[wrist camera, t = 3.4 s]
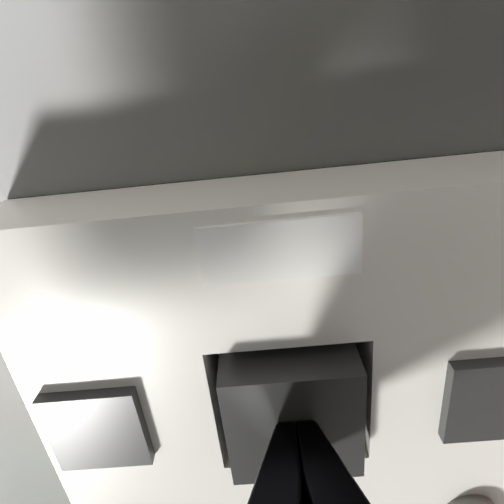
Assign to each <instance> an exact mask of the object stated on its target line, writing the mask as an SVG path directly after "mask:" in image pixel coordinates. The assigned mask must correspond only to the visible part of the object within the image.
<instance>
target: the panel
mask: <svg viewBox="0 0 504 504" xmlns="http://www.w3.org/2000/svg"><path fill="white" fill-rule="evenodd" d="M354 342H355V344H356V347H357V349H358V352H359V355H360V358H361V360H362V363H363V366H364V369H365V371H366V374H367V399H366V432H365V465H364V476H361V477H353V478H354V479H355V481H356V482H357V484H358V485H359V487H360V488H361V490H362V491H363V493H364V494H365V496H366V497H367V499H368V500H369V502H370V503H371V504H504V150H503V151H493V152H483V153H473V154H463V155H453V156H443V157H432V158H422V159H412V160H402V161H392V162H382V163H372V164H362V165H352V166H342V167H331V168H321V169H311V170H301V171H291V172H281V173H271V174H261V175H251V176H241V177H230V178H220V179H210V180H200V181H190V182H180V183H170V184H160V185H150V186H140V187H129V188H119V189H109V190H99V191H89V192H79V193H69V194H59V195H49V196H38V197H28V198H18V199H8V200H4V201H3V202H1V203H0V352H1V354H2V356H3V358H4V360H5V363H6V365H7V367H8V369H9V371H10V373H11V376H12V378H13V380H14V382H15V384H16V386H17V388H18V391H19V393H20V395H21V397H22V399H23V401H24V403H25V406H26V408H27V410H28V412H29V414H30V416H31V419H32V421H33V423H34V425H35V427H36V429H37V431H38V434H39V436H40V438H41V440H42V442H43V444H44V446H45V449H46V451H47V453H48V455H49V457H50V459H51V462H52V464H53V466H54V468H55V470H56V472H57V474H58V477H59V479H60V481H61V483H62V485H63V487H64V489H65V492H66V494H67V496H68V498H69V500H70V502H71V504H247V503H248V500H249V497H250V494H251V491H252V489H253V486H254V484H245V485H234V484H233V479H232V473H231V468H230V462H229V457H228V451H227V446H226V440H225V435H224V430H223V424H222V419H221V413H220V408H219V402H218V397H217V391H216V382H217V372H218V362H219V354H220V353H232V352H244V351H256V350H269V349H281V348H293V347H305V346H317V345H330V344H342V343H354Z"/></svg>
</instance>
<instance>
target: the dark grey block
mask: <svg viewBox="0 0 504 504" xmlns="http://www.w3.org/2000/svg"><path fill="white" fill-rule="evenodd" d="M216 391H217V397H218V402H219V408H220V413H221V419H222V424H223V430H224V435H225V440H226V446H227V451H228V457H229V462H230V468H231V473H232V479H233V484H234V485H245V484H254V483H255V480H256V478H257V475H258V472H259V469H260V466H261V464H262V461H263V458H264V455H265V452H266V450H267V447H268V444H269V441H270V439H271V436H272V433H273V430H274V427H275V425H276V424H277V423H278V422H289V421H293V422H295V424H296V423H297V422H298V421H302V420H314V421H316V422H317V424H318V425H319V427H320V428H321V430H322V431H323V433H324V434H325V436H326V437H327V439H328V440H329V442H330V443H331V445H332V446H333V448H334V449H335V451H336V452H337V454H338V455H339V457H340V458H341V460H342V461H343V463H344V464H345V466H346V467H347V469H348V470H349V472H350V473H351V475H352V476H353V477H361V476H364V465H365V432H366V399H367V374H366V371H365V369H364V366H363V363H362V360H361V358H360V355H359V352H358V349H357V347H356V344H355V342H354V343H342V344H330V345H317V346H305V347H293V348H281V349H269V350H256V351H244V352H232V353H220V354H219V362H218V372H217V382H216Z"/></svg>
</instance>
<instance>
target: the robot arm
mask: <svg viewBox="0 0 504 504" xmlns="http://www.w3.org/2000/svg"><path fill="white" fill-rule="evenodd" d="M247 504H371V503H370V502H369V500H368V499H367V497H366V496H365V494H364V493H363V491H362V490H361V488H360V487H359V485H358V484H357V482H356V481H355V479H354V478H353V476H352V475H351V473H350V472H349V470H348V469H347V467H346V466H345V464H344V463H343V461H342V460H341V458H340V457H339V455H338V454H337V452H336V451H335V449H334V448H333V446H332V445H331V443H330V442H329V440H328V439H327V437H326V436H325V434H324V433H323V431H322V430H321V428H320V427H319V425H318V424H317V422H316V421H314V420H302V421H298V422H297V423H296V424H295V422H293V421H289V422H278V423H277V424H276V425H275V427H274V430H273V433H272V436H271V439H270V441H269V444H268V447H267V450H266V452H265V455H264V458H263V461H262V464H261V466H260V469H259V472H258V475H257V478H256V480H255V483H254V486H253V489H252V491H251V494H250V497H249V500H248V503H247Z"/></svg>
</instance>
